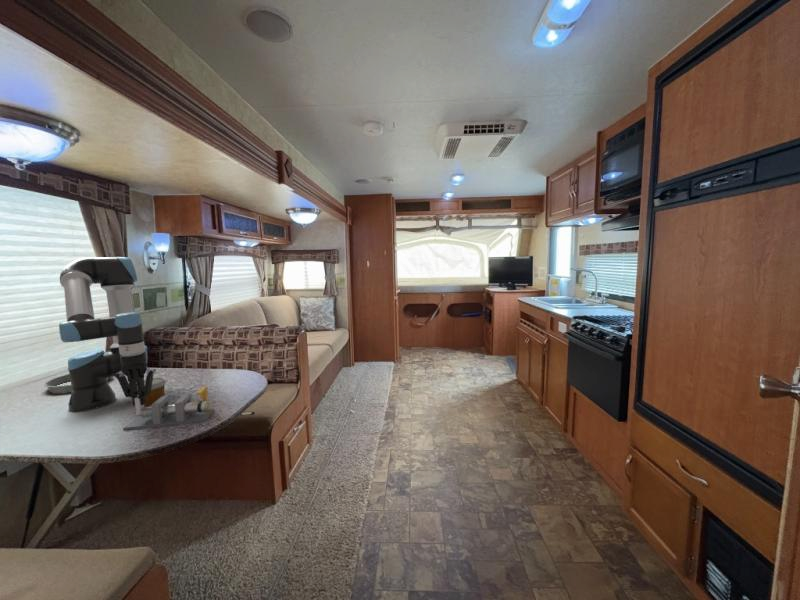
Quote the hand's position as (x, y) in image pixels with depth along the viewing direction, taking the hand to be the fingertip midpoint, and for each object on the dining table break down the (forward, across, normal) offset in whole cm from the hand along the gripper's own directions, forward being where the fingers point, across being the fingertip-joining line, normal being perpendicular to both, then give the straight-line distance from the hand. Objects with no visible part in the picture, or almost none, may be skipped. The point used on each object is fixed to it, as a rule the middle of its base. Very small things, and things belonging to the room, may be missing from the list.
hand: (140, 412), depth 125 cm
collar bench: (+4, +10, 0) cm, 11 cm away
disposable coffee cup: (+5, -2, +13) cm, 14 cm away
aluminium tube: (+2, +12, 0) cm, 12 cm away
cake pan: (+5, -55, +53) cm, 77 cm away
